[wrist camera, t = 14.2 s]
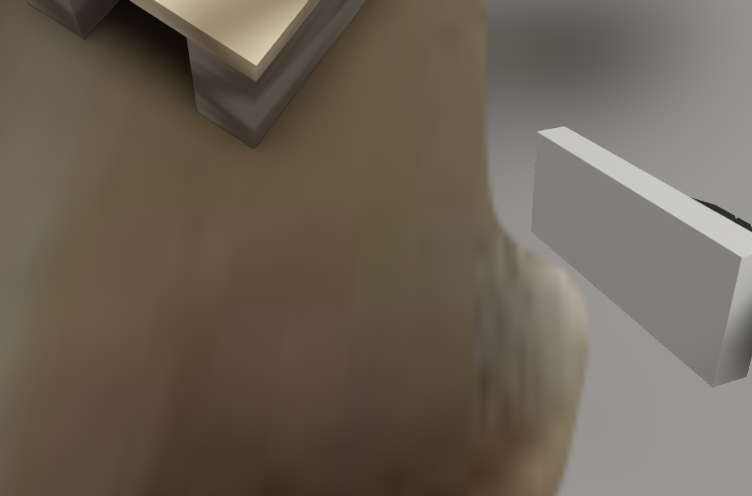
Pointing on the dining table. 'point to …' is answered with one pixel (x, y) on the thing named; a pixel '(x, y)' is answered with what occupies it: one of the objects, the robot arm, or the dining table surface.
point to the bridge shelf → (235, 49)
